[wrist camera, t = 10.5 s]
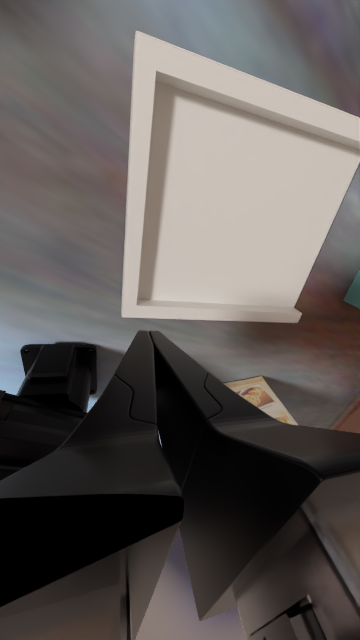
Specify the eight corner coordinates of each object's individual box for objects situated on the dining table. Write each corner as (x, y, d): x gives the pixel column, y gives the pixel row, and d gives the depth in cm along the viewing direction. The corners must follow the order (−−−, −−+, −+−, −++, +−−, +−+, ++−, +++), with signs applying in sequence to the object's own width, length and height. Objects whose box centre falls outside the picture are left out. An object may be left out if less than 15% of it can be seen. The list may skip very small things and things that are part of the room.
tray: (286, 314, 27) (297, 322, 25) (121, 306, 21) (121, 317, 20) (365, 134, 19) (390, 129, 17) (133, 50, 13) (135, 30, 12)
